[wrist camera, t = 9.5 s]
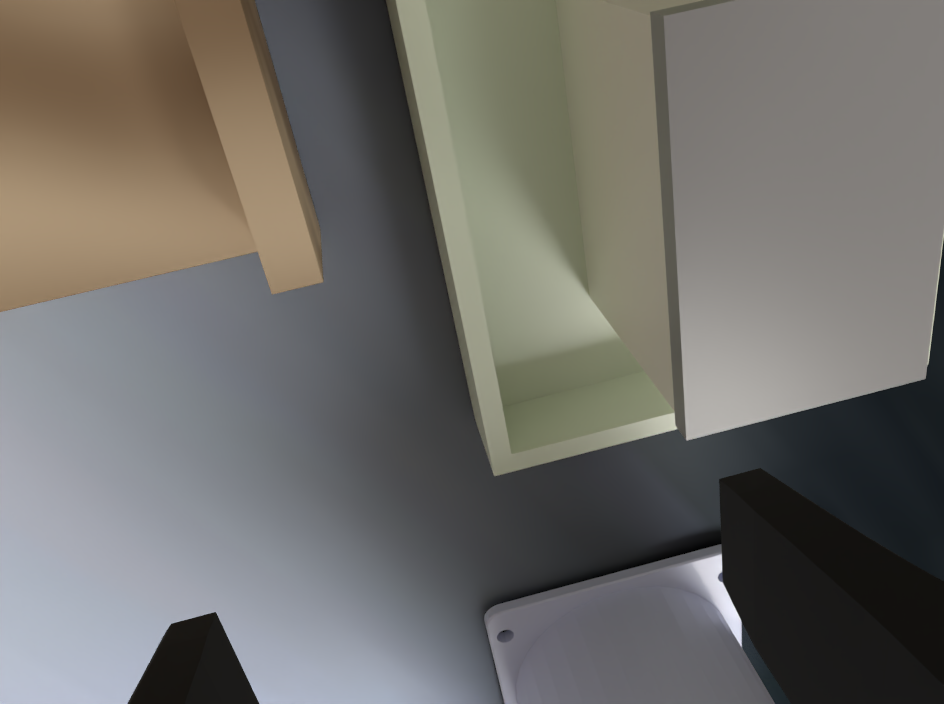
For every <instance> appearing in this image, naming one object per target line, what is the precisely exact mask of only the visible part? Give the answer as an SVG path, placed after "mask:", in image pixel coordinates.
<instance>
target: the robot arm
mask: <svg viewBox="0 0 944 704" xmlns="http://www.w3.org/2000/svg"><path fill="white" fill-rule="evenodd" d="M719 483H720V514H721V544H719V545H715V546H712V547H708V548H704V549H701V550H697V551H693V552H690V553H686V554H682V555H679V556H675V557H671V558H667V559H664V560H660V561H656V562H653V563H649V564H645V565H642V566H638V567H634V568H630V569H627V570H623V571H619V572H616V573H612V574H608V575H605V576H601V577H597V578H593V579H590V580H586V581H582V582H579V583H575V584H571V585H568V586H564V587H560V588H556V589H553V590H549V591H545V592H542V593H538V594H534V595H531V596H527V597H523V598H519V599H516V600H512V601H508V602H505V603H501V604H497V605H495V606H493V607H491V608H490V609H489V610H488V611H487V612H486V614H485V616H484V621H485V625H486V629H487V633H488V638H489V642H490V646H491V650H492V654H493V658H494V662H495V666H496V671H497V675H498V679H499V683H500V687H501V691H502V695H503V700H504V704H775V703H774V701H773V700H772V698H771V696H770V695H769V693H768V691H767V689H766V688H765V686H764V684H763V683H762V681H761V679H760V678H759V676H758V674H757V673H756V671H755V669H754V668H753V666H752V664H751V663H750V661H749V659H748V657H747V656H746V654H745V652H744V651H743V649H742V623H743V625H744V627H745V629H746V631H747V633H748V635H749V637H750V639H751V641H752V643H753V644H754V646H755V648H756V650H757V651H758V653H759V654H760V656H761V657H762V659H763V661H764V662H765V664H766V665H767V667H768V668H769V670H770V671H771V673H772V675H773V676H774V678H775V679H776V681H777V682H778V684H779V685H780V687H781V688H782V690H783V691H784V693H785V695H786V696H787V698H788V699H789V701H790V702H791V704H944V581H942V580H940V579H938V578H936V577H934V576H932V575H931V574H929V573H927V572H925V571H924V570H922V569H920V568H918V567H917V566H915V565H913V564H911V563H910V562H908V561H906V560H905V559H903V558H901V557H900V556H898V555H896V554H895V553H893V552H891V551H890V550H888V549H886V548H885V547H883V546H881V545H880V544H878V543H876V542H875V541H873V540H871V539H870V538H868V537H866V536H865V535H863V534H862V533H860V532H858V531H857V530H855V529H854V528H852V527H850V526H849V525H847V524H846V523H844V522H843V521H841V520H839V519H838V518H836V517H835V516H833V515H832V514H830V513H829V512H827V511H825V510H824V509H822V508H821V507H819V506H818V505H816V504H815V503H813V502H812V501H810V500H808V499H807V498H805V497H804V496H802V495H801V494H799V493H798V492H796V491H795V490H793V489H792V488H790V487H789V486H787V485H785V484H784V483H782V482H781V481H779V480H778V479H776V478H775V477H773V476H771V475H770V474H768V473H767V472H765V471H764V470H762V469H761V468H759V469H755V470H751V471H748V472H744V473H740V474H736V475H733V476H729V477H725V478H721V479H719ZM721 572H722V573H721ZM503 630H507V631H505V632H501V631H503ZM128 704H259V702H258V700H257V698H256V696H255V694H254V692H253V690H252V688H251V685H250V683H249V681H248V679H247V677H246V675H245V673H244V671H243V669H242V666H241V664H240V662H239V660H238V658H237V656H236V654H235V652H234V650H233V648H232V645H231V643H230V641H229V639H228V637H227V635H226V633H225V631H224V629H223V626H222V624H221V622H220V620H219V618H218V616H217V614H216V612H214V613H211V614H207V615H203V616H199V617H195V618H192V619H188V620H184V621H180V622H177V623H173V624H171V625H170V627H169V628H168V630H167V631H166V633H165V635H164V636H163V638H162V640H161V642H160V644H159V646H158V648H157V649H156V651H155V653H154V655H153V657H152V659H151V661H150V663H149V665H148V666H147V668H146V670H145V672H144V674H143V676H142V678H141V680H140V681H139V683H138V685H137V687H136V689H135V691H134V693H133V695H132V696H131V698H130V700H129V702H128Z"/></svg>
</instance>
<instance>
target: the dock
mask: <svg viewBox="0 0 944 704" xmlns="http://www.w3.org/2000/svg"><path fill="white" fill-rule="evenodd" d="M254 252H258V254H259V257H260V260H261V263H262V266H263V269H264V272H265V275H266V278H267V281H268V284H269V287H270V290H271V293H272V294H276V293H280V292H285V291H289V290H293V289H297V288H301V287H306V286H310V285H314V284H318V283H322V282H323V267H322V249H321V232H320V226H319V223H318V219H317V216H316V212H315V209H314V205H313V202H312V198H311V195H310V191H309V188H308V184H307V181H306V178H305V174H304V171H303V167H302V164H301V160H300V157H299V153H298V150H297V146H296V143H295V139H294V136H293V132H292V129H291V125H290V122H289V118H288V115H287V111H286V108H285V104H284V101H283V97H282V94H281V90H280V87H279V84H278V80H277V77H276V73H275V70H274V66H273V63H272V59H271V56H270V52H269V49H268V45H267V42H266V38H265V35H264V31H263V28H262V24H261V21H260V17H259V14H258V10H257V7H256V3H255V0H0V312H2V311H6V310H11V309H15V308H19V307H24V306H28V305H32V304H36V303H41V302H45V301H49V300H53V299H58V298H62V297H66V296H71V295H75V294H79V293H83V292H88V291H92V290H96V289H100V288H105V287H109V286H113V285H118V284H122V283H126V282H130V281H135V280H139V279H143V278H147V277H152V276H156V275H160V274H165V273H169V272H173V271H177V270H182V269H186V268H190V267H195V266H199V265H203V264H207V263H212V262H216V261H220V260H224V259H229V258H233V257H237V256H242V255H246V254H250V253H254Z"/></svg>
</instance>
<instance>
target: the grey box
mask: <svg viewBox="0 0 944 704" xmlns="http://www.w3.org/2000/svg"><path fill="white" fill-rule="evenodd" d="M556 8H557V17H558V25H559V34H560V43H561V52H562V60H563V69H564V78H565V87H566V95H567V104H568V113H569V122H570V130H571V139H572V148H573V156H574V165H575V174H576V183H577V191H578V200H579V209H580V218H581V226H582V235H583V244H584V253H585V261H586V270H587V279H588V288H589V296H590V298H591V299H592V301H593V302H594V303H595V305H596V306H597V307H598V309H599V310H600V311H601V313H602V314H603V316H604V317H605V318H606V320H607V321H608V322H609V324H610V325H611V326H612V328H613V329H614V330H615V332H616V333H617V335H618V336H619V337H620V339H621V340H622V341H623V343H624V344H625V345H626V347H627V348H628V349H629V351H630V352H631V353H632V355H633V356H634V358H635V359H636V360H637V362H638V363H639V364H640V366H641V367H642V368H643V370H644V371H645V372H646V374H647V375H648V377H649V378H650V379H651V381H652V382H653V383H654V385H655V386H656V387H657V389H658V390H659V391H660V393H661V394H662V395H663V397H664V398H665V400H666V401H667V402H668V404H669V405H670V406H671V408H672V409H673V410H674V412H675V426H676V427H677V428H678V430H679V431H680V432H681V434H682V435H683V437H684V438H685V439H686V441H687V440H691V439H695V438H698V437H702V436H706V435H710V434H714V433H718V432H722V431H726V430H729V429H733V428H737V427H741V426H745V425H749V424H753V423H757V422H760V421H764V420H768V419H772V418H776V417H780V416H784V415H787V414H791V413H795V412H799V411H803V410H807V409H811V408H815V407H818V406H822V405H826V404H830V403H834V402H838V401H842V400H845V399H849V398H853V397H857V396H861V395H865V394H869V393H873V392H876V391H880V390H884V389H888V388H892V387H896V386H900V385H903V384H907V383H911V382H915V381H919V380H923V379H926V371H927V363H928V355H929V346H930V338H931V330H932V322H933V314H934V305H935V297H936V289H937V281H938V273H939V264H940V256H941V248H942V240H943V232H944V0H556Z"/></svg>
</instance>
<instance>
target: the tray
mask: <svg viewBox="0 0 944 704" xmlns="http://www.w3.org/2000/svg"><path fill="white" fill-rule="evenodd" d="M386 3H387V8H388V13H389V18H390V22H391V27H392V32H393V36H394V41H395V46H396V50H397V55H398V60H399V65H400V69H401V74H402V79H403V83H404V88H405V93H406V97H407V102H408V107H409V112H410V116H411V121H412V126H413V130H414V135H415V140H416V144H417V149H418V154H419V159H420V163H421V168H422V173H423V177H424V182H425V187H426V191H427V196H428V201H429V206H430V210H431V215H432V220H433V224H434V229H435V234H436V238H437V243H438V248H439V253H440V257H441V262H442V267H443V271H444V276H445V281H446V286H447V290H448V295H449V300H450V304H451V309H452V314H453V318H454V323H455V328H456V333H457V337H458V342H459V347H460V351H461V356H462V361H463V365H464V370H465V375H466V380H467V384H468V389H469V394H470V398H471V403H472V408H473V412H474V417H475V421H476V424H477V427H478V430H479V433H480V436H481V439H482V442H483V445H484V448H485V450H486V453H487V456H488V459H489V462H490V465H491V468H492V471H493V474H494V476H498V475H502V474H506V473H510V472H513V471H517V470H521V469H525V468H529V467H533V466H537V465H540V464H544V463H548V462H552V461H556V460H560V459H564V458H568V457H571V456H575V455H579V454H583V453H587V452H591V451H595V450H598V449H602V448H606V447H610V446H614V445H618V444H622V443H625V442H629V441H633V440H637V439H641V438H645V437H649V436H653V435H656V434H660V433H664V432H668V431H672V430H676V429H678V428H677V427H676V426H675V412H674V410H673V409H672V408H671V406H670V405H669V404H668V402H667V401H666V400H665V398H664V397H663V395H662V394H661V393H660V391H659V390H658V389H657V387H656V386H655V385H654V383H653V382H652V381H651V379H650V378H649V377H648V375H647V374H646V372H645V371H644V370H643V368H642V367H641V366H640V364H639V363H638V362H637V360H636V359H635V358H634V356H633V355H632V353H631V352H630V351H629V349H628V348H627V347H626V345H625V344H624V343H623V341H622V340H621V339H620V337H619V336H618V335H617V333H616V332H615V330H614V329H613V328H612V326H611V325H610V324H609V322H608V321H607V320H606V318H605V317H604V316H603V314H602V313H601V311H600V310H599V309H598V307H597V306H596V305H595V303H594V302H593V301H592V299H591V298H590V296H589V288H588V279H587V270H586V261H585V253H584V244H583V235H582V226H581V218H580V209H579V200H578V191H577V183H576V174H575V165H574V156H573V148H572V139H571V130H570V122H569V113H568V104H567V95H566V87H565V78H564V69H563V60H562V52H561V43H560V34H559V25H558V17H557V8H556V0H386ZM943 238H944V232H943ZM942 246H943V240H942ZM941 254H942V248H941ZM940 263H941V256H940ZM939 271H940V264H939ZM938 279H939V273H938ZM937 287H938V281H937ZM936 296H937V289H936ZM935 304H936V297H935ZM934 312H935V305H934ZM933 321H934V314H933ZM932 329H933V322H932ZM931 337H932V330H931ZM930 345H931V338H930ZM929 354H930V346H929ZM928 362H929V355H928ZM927 364H928V363H927Z"/></svg>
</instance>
